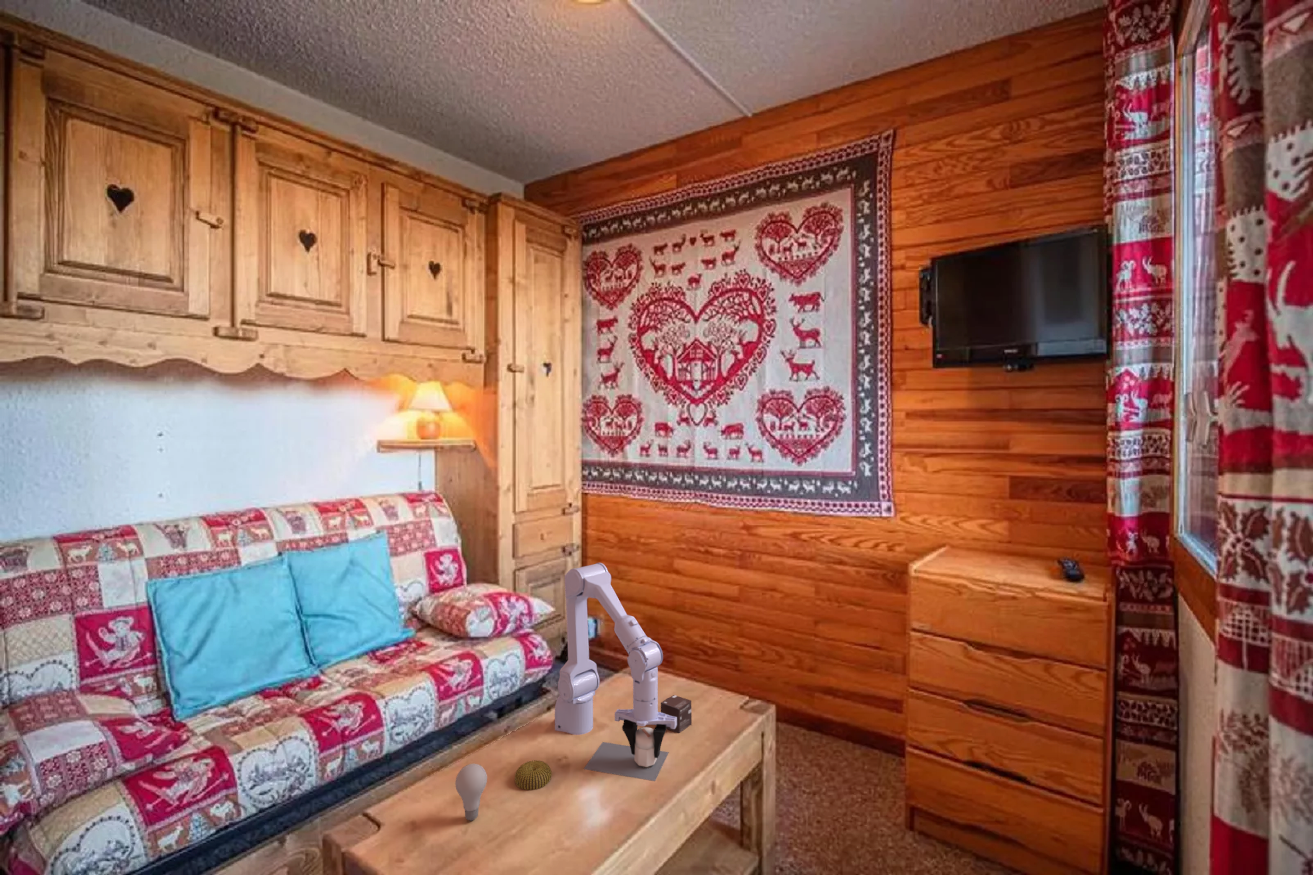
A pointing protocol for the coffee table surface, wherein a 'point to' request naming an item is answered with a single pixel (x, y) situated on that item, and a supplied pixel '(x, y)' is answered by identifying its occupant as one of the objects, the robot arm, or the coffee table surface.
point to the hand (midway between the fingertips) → (645, 754)
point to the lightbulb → (471, 788)
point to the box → (678, 711)
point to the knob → (644, 747)
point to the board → (623, 762)
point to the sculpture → (533, 774)
